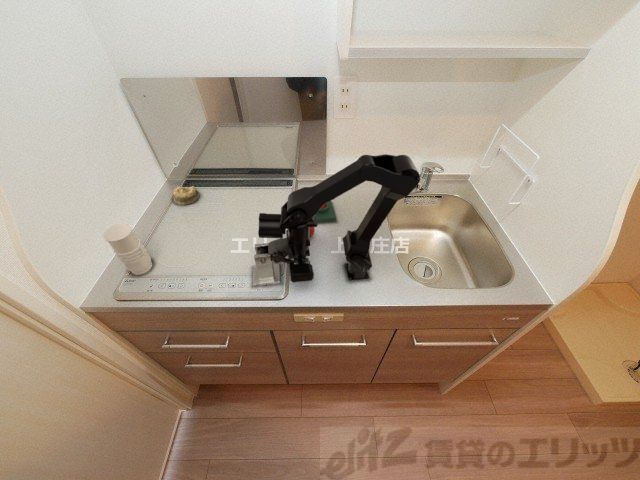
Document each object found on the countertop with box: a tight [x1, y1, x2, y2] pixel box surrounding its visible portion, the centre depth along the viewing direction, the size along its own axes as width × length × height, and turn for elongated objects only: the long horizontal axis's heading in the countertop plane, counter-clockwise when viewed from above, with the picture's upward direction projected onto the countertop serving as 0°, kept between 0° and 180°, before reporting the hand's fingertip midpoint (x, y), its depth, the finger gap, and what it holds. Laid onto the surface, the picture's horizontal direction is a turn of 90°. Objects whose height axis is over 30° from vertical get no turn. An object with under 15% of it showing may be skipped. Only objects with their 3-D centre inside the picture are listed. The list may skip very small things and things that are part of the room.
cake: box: [172, 185, 201, 206], centre depth 106 cm, size 10×10×5 cm
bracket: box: [252, 242, 281, 287], centre depth 78 cm, size 8×7×12 cm
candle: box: [102, 223, 153, 276], centre depth 78 cm, size 7×7×15 cm
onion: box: [309, 227, 316, 239], centre depth 92 cm, size 6×6×8 cm
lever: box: [257, 247, 294, 265], centre depth 78 cm, size 14×3×3 cm
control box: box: [315, 200, 337, 224], centre depth 103 cm, size 12×10×4 cm
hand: (298, 270), depth 83 cm, fingers open, 3 cm apart
